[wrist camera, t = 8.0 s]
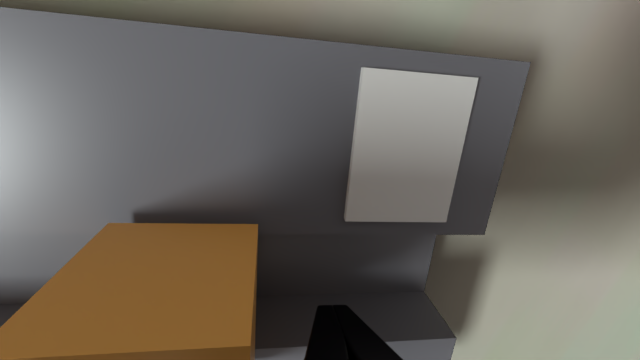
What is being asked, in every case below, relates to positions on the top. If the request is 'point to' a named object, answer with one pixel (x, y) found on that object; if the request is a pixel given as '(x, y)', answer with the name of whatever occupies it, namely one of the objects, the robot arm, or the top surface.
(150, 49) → the breaker block
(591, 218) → the top surface
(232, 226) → the handle
